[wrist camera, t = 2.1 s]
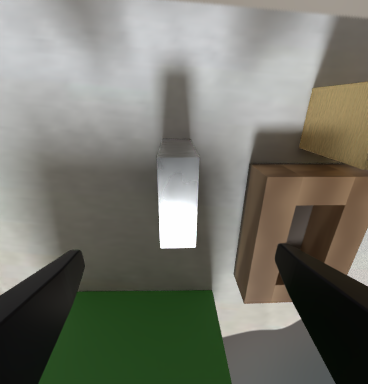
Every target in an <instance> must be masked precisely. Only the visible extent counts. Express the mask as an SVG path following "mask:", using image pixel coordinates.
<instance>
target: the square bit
mask: <svg viewBox="0 0 368 384" xmlns="http://www.w3.org/2000/svg"><path fill="white" fill-rule="evenodd" d="M299 148H301V149H304V150H307V151H310V152H313V153H316V154H318V155H321V156H324V157H327V158H330V159H333V160H336V161H339V162H342V163H345V164H348V165H351V166H354V167H356V168H359V169H368V82H360V83H352V84H343V85H335V86H327V87H318V88H313V89H312V94H311V98H310V102H309V106H308V111H307V115H306V119H305V123H304V128H303V132H302V136H301V140H300V145H299Z"/></svg>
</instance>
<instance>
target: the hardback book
mask: <svg viewBox="0 0 368 384" xmlns="http://www.w3.org/2000/svg"><path fill="white" fill-rule="evenodd" d="M38 384H232V383H231V378H230V373H229V369H228V364H227V359H226V354H225V350H224V345H223V340H222V335H221V330H220V325H219V321H218V316H217V311H216V306H215V302H214V297H213V292H212V290H180V291H85V292H77V294H76V297H75V300H74V303H73V305H72V308H71V310H70V312H69V315H68V317H67V319H66V322H65V324H64V326H63V328H62V331H61V333H60V335H59V338H58V340H57V342H56V344H55V347H54V349H53V351H52V354H51V356H50V358H49V360H48V363H47V365H46V367H45V370H44V372H43V374H42V376H41V379H40V381H39V383H38Z"/></svg>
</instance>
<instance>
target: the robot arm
mask: <svg viewBox="0 0 368 384" xmlns="http://www.w3.org/2000/svg"><path fill="white" fill-rule="evenodd" d="M275 263H276V265H277V268H278V270H279V273H280V275H281V278H282V280H283V283H284V285H285V288H286V290H287V292H288V294H289V296H290V298H291V300H292V302H293V304H294V306H295V308H296V310H297V311H298V313H299V315H300V317H301V319H302V321H303V323H304V325H305V327H306V328H307V330H308V332H309V334H310V336H311V338H312V340H313V342H314V344H315V346H316V347H317V349H318V351H319V353H320V355H321V357H322V359H323V361H324V362H325V364H326V366H327V368H328V370H329V372H330V374H331V376H332V378H333V380H334V381H335V383H336V384H368V286H366V285H364V284H362V283H360V282H358V281H357V280H355V279H353V278H351V277H349V276H347V275H346V274H344V273H342V272H340V271H338V270H336V269H334V268H333V267H331V266H329V265H327V264H325V263H323V262H322V261H320V260H318V259H316V258H314V257H312V256H311V255H309V254H307V253H305V252H303V251H301V250H300V249H298V248H296V247H294V246H292V245H290V244H288V243H279V244H278V245H277V249H276V253H275ZM84 268H85V264H84V260H83V255H82V252H81V250H70V251H68V252H67V253H65V254H64V255H62V256H61V257H59V258H57V259H56V260H54V261H53V262H51V263H50V264H48V265H47V266H45V267H44V268H42V269H41V270H39V271H37V272H36V273H34V274H33V275H31V276H30V277H28V278H27V279H25V280H24V281H22V282H20V283H19V284H17V285H16V286H14V287H13V288H11V289H10V290H8V291H7V292H5V293H3V294H2V295H0V384H38V383H39V381H40V379H41V376H42V374H43V372H44V370H45V367H46V365H47V363H48V360H49V358H50V356H51V354H52V351H53V349H54V347H55V344H56V342H57V340H58V338H59V335H60V333H61V331H62V328H63V326H64V324H65V322H66V319H67V317H68V315H69V312H70V310H71V308H72V305H73V303H74V300H75V297H76V294H77V291H78V288H79V284H80V281H81V278H82V275H83V272H84Z"/></svg>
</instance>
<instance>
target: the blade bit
mask: <svg viewBox="0 0 368 384" xmlns="http://www.w3.org/2000/svg"><path fill="white" fill-rule="evenodd" d="M199 161H200V157H199V155H198V153H197V151H196V149H195V147H194V145H193V143H192V141H191V139H162V142H161V145H160V148H159V152H158V155H157V178H158V202H159V226H160V248H196V230H197V207H198V184H199Z"/></svg>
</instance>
